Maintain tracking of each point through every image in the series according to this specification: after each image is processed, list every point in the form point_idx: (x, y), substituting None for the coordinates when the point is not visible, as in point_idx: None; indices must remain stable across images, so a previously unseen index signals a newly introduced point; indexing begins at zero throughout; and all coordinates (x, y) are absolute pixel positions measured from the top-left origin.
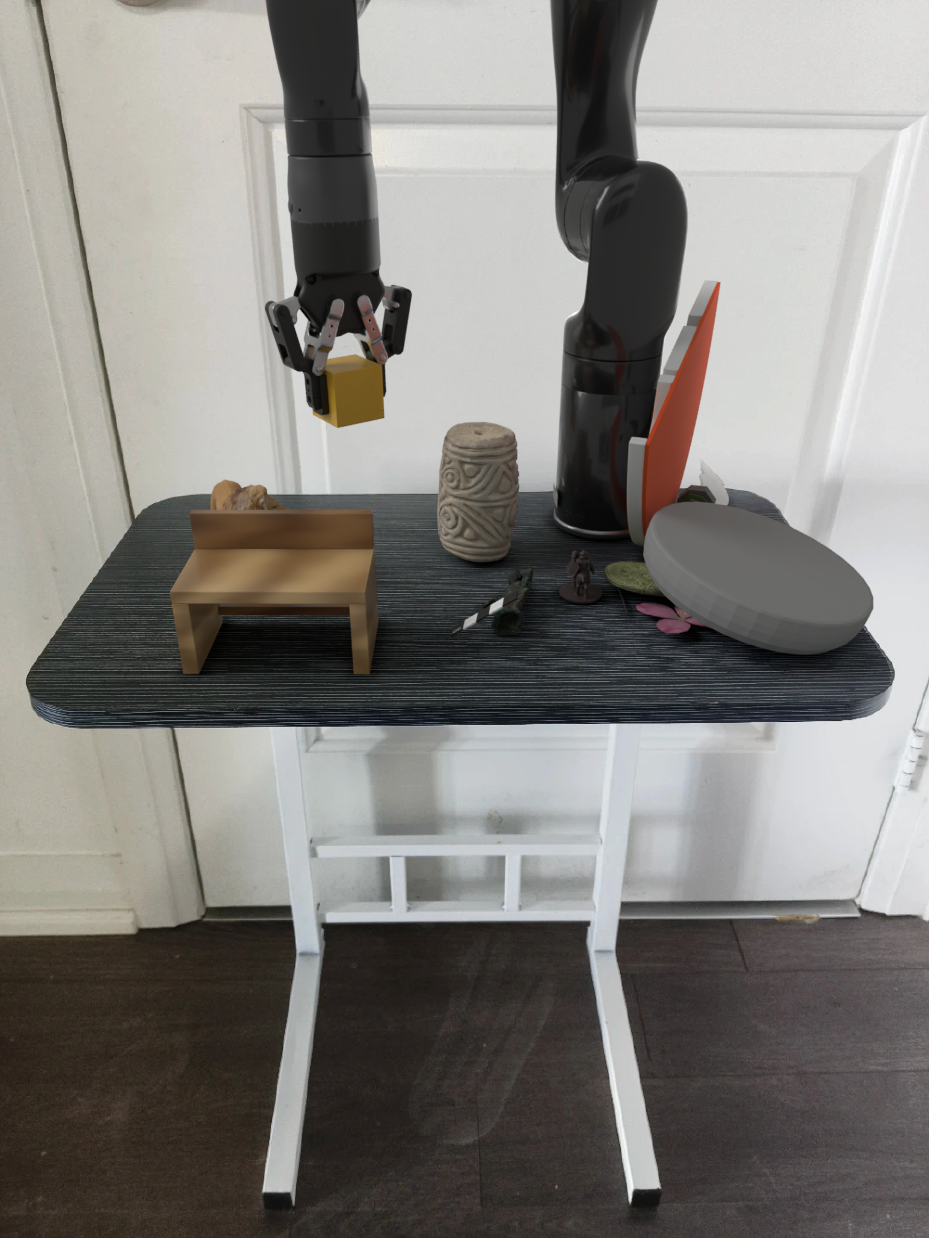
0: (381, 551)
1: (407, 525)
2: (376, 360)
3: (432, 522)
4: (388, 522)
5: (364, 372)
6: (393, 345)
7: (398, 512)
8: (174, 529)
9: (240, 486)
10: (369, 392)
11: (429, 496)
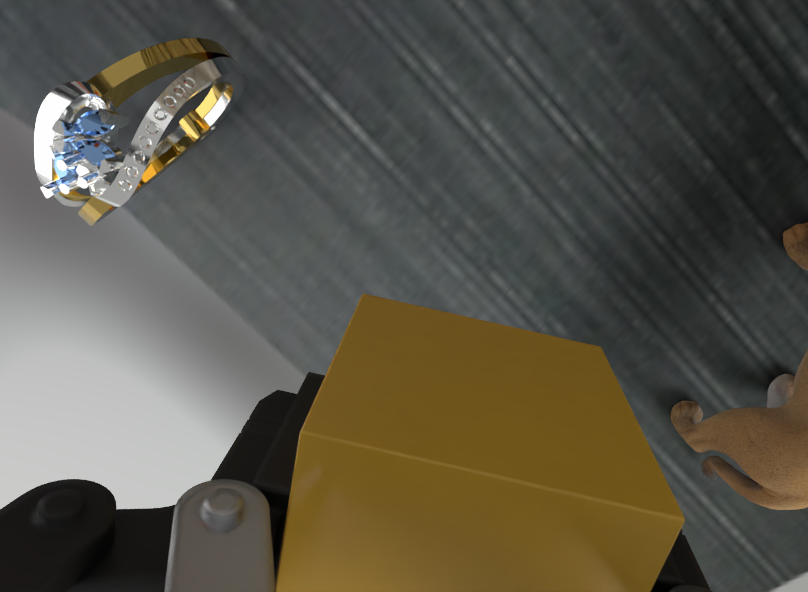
0: (524, 99)
1: (362, 173)
2: (266, 517)
3: (302, 139)
4: (384, 224)
5: (443, 446)
6: (83, 545)
7: (323, 251)
8: (739, 537)
9: (789, 453)
10: (424, 370)
11: (200, 267)
